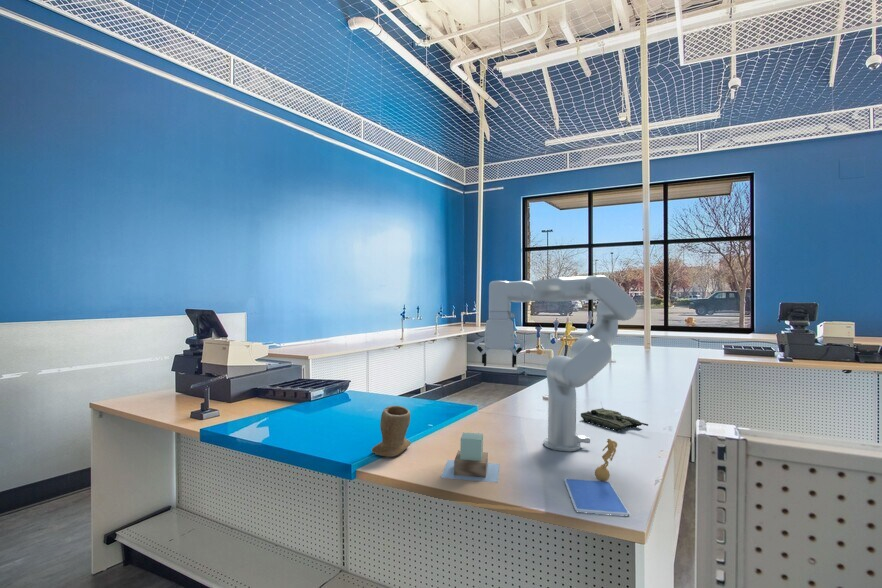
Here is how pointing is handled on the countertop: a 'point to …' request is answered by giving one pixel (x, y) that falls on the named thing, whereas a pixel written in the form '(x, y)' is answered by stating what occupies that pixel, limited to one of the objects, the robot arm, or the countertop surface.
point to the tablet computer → (595, 497)
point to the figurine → (602, 471)
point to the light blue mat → (490, 476)
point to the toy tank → (610, 419)
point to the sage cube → (471, 446)
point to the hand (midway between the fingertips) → (499, 366)
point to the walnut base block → (471, 466)
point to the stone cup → (393, 431)
